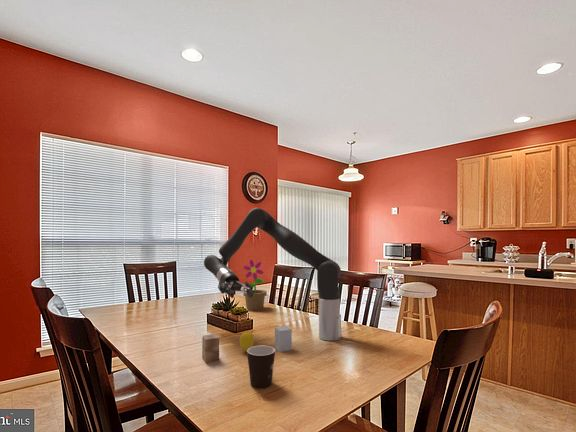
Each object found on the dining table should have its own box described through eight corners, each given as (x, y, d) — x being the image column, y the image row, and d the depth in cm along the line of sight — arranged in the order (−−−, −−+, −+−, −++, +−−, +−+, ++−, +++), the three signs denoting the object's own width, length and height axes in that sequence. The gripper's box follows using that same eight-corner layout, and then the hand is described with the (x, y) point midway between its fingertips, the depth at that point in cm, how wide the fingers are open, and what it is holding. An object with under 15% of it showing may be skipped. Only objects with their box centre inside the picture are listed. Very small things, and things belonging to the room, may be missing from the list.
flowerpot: (239, 311, 193) (240, 259, 194) (246, 305, 207) (247, 258, 209) (263, 312, 191) (263, 260, 192) (269, 306, 205) (269, 258, 206)
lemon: (239, 349, 129) (240, 328, 130) (254, 349, 130) (254, 328, 130) (239, 354, 124) (239, 333, 124) (253, 354, 124) (253, 332, 125)
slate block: (286, 345, 134) (286, 326, 134) (291, 349, 129) (291, 329, 129) (274, 347, 131) (274, 327, 132) (280, 351, 127) (280, 330, 127)
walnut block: (215, 355, 123) (215, 333, 123) (219, 360, 119) (219, 337, 119) (202, 357, 121) (202, 335, 121) (205, 362, 116) (205, 339, 117)
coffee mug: (264, 393, 94) (264, 357, 95) (241, 385, 99) (241, 351, 99) (285, 378, 104) (285, 345, 104) (263, 371, 108) (264, 341, 109)
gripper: (214, 270, 143) (228, 287, 130) (243, 271, 151) (259, 287, 138) (210, 286, 144) (224, 304, 131) (239, 286, 152) (255, 303, 139)
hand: (242, 295), depth 134 cm, fingers open, 8 cm apart
